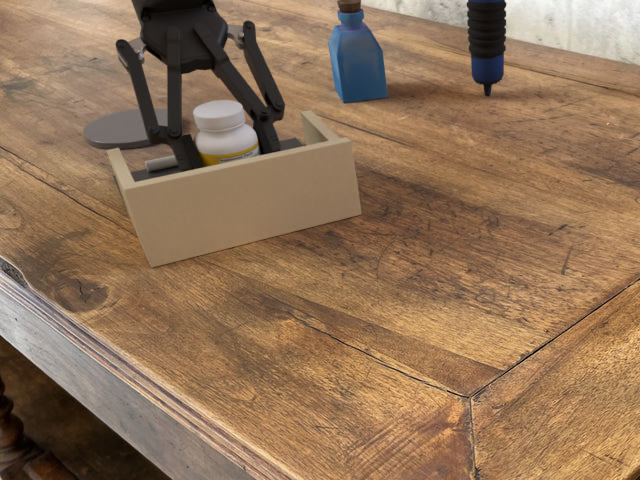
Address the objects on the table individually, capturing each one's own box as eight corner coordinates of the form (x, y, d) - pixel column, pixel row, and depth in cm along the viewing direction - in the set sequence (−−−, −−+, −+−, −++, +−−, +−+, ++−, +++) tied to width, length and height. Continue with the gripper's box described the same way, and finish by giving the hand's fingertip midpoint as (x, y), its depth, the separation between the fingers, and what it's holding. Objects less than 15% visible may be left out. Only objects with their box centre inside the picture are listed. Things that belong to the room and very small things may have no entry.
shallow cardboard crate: (151, 268, 75) (124, 189, 70) (115, 182, 90) (90, 112, 85) (362, 214, 83) (351, 140, 78) (297, 143, 98) (284, 77, 93)
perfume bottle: (335, 88, 113) (321, -3, 106) (377, 83, 115) (367, -7, 108) (343, 103, 109) (329, 9, 101) (387, 97, 111) (377, 4, 103)
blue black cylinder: (505, 82, 115) (502, -77, 102) (525, 99, 109) (525, -66, 96) (452, 89, 113) (442, -72, 100) (470, 108, 107) (462, -60, 94)
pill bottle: (208, 206, 85) (180, 103, 78) (266, 194, 87) (244, 93, 80) (217, 231, 81) (188, 124, 74) (278, 218, 83) (256, 113, 76)
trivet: (91, 156, 96) (89, 150, 95) (79, 124, 104) (77, 118, 103) (193, 136, 100) (191, 130, 100) (173, 107, 108) (172, 101, 108)
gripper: (258, -8, 87) (331, 187, 86) (69, 17, 80) (147, 230, 79) (261, -55, 80) (341, 157, 79) (54, -31, 73) (140, 202, 72)
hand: (244, 193), depth 79 cm, fingers closed on pill bottle, 6 cm apart
